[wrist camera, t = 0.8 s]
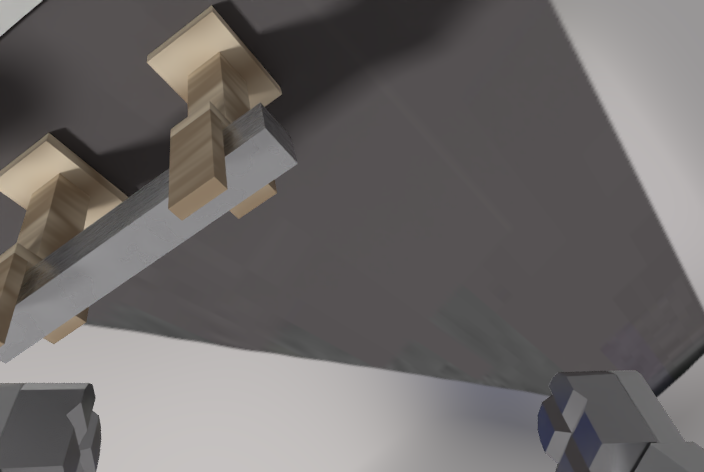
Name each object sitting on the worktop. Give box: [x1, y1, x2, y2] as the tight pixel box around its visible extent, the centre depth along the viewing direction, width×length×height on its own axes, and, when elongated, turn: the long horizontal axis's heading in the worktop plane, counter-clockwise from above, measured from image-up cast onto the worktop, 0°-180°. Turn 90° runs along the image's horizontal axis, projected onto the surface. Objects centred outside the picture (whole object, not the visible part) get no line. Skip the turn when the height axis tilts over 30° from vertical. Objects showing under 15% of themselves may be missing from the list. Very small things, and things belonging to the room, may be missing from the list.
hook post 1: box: [0, 133, 128, 347], centre depth 44 cm, size 8×6×19 cm
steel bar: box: [0, 102, 298, 363], centre depth 39 cm, size 3×24×3 cm, turn 123°
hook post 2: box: [147, 5, 282, 220], centre depth 40 cm, size 8×6×19 cm
